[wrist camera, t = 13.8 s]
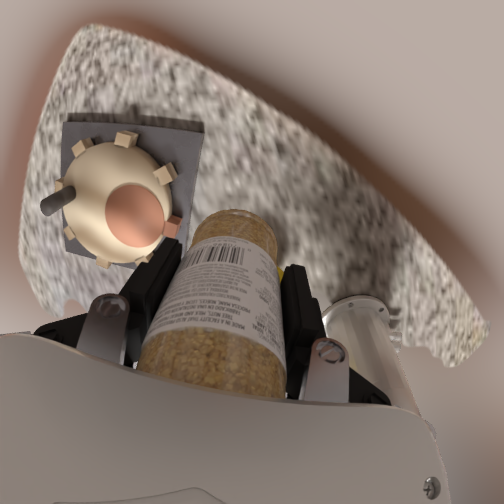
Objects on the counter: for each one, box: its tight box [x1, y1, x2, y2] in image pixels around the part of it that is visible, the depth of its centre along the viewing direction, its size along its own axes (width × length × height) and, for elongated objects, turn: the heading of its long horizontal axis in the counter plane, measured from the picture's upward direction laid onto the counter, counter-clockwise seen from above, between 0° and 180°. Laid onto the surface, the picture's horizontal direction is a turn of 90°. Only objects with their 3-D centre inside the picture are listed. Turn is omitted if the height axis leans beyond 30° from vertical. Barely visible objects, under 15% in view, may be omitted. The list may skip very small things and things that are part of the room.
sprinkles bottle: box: [136, 209, 287, 399], centre depth 9 cm, size 5×5×13 cm
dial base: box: [61, 121, 204, 269], centre depth 31 cm, size 19×19×1 cm
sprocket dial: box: [40, 130, 182, 269], centre depth 27 cm, size 18×18×7 cm
